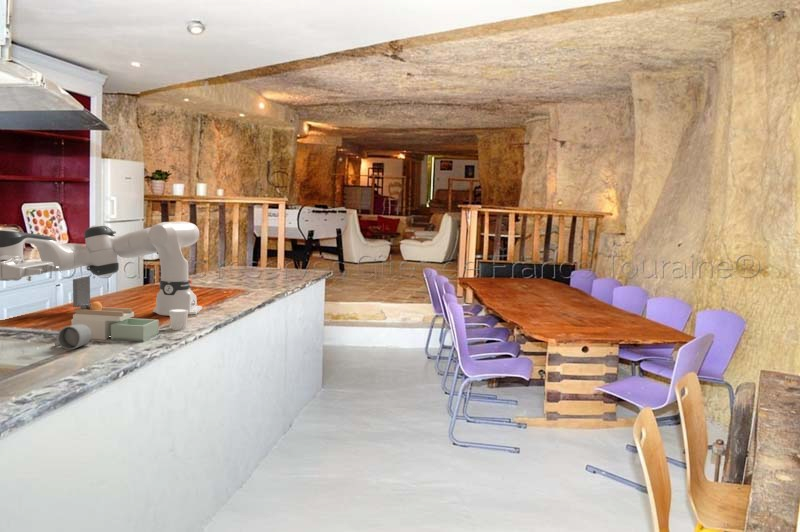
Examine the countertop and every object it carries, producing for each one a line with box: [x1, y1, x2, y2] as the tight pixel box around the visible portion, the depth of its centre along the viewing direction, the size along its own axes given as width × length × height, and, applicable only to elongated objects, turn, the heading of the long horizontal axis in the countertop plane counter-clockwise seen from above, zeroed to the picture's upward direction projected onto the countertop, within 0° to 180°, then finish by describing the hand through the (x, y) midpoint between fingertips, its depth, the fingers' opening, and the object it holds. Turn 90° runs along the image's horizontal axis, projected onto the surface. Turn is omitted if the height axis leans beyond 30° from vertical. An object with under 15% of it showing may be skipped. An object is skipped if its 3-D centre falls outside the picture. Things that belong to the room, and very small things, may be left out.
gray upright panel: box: [72, 276, 92, 310], centre depth 229 cm, size 8×4×12 cm, turn 175°
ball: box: [90, 301, 103, 310], centre depth 229 cm, size 4×4×4 cm
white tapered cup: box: [169, 309, 188, 331], centre depth 246 cm, size 7×7×7 cm
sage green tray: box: [110, 317, 160, 343], centre depth 229 cm, size 12×12×6 cm
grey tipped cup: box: [54, 324, 92, 351], centre depth 212 cm, size 11×8×8 cm
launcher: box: [71, 306, 135, 341], centre depth 229 cm, size 12×17×10 cm
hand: (49, 270), depth 229 cm, fingers open, 8 cm apart
